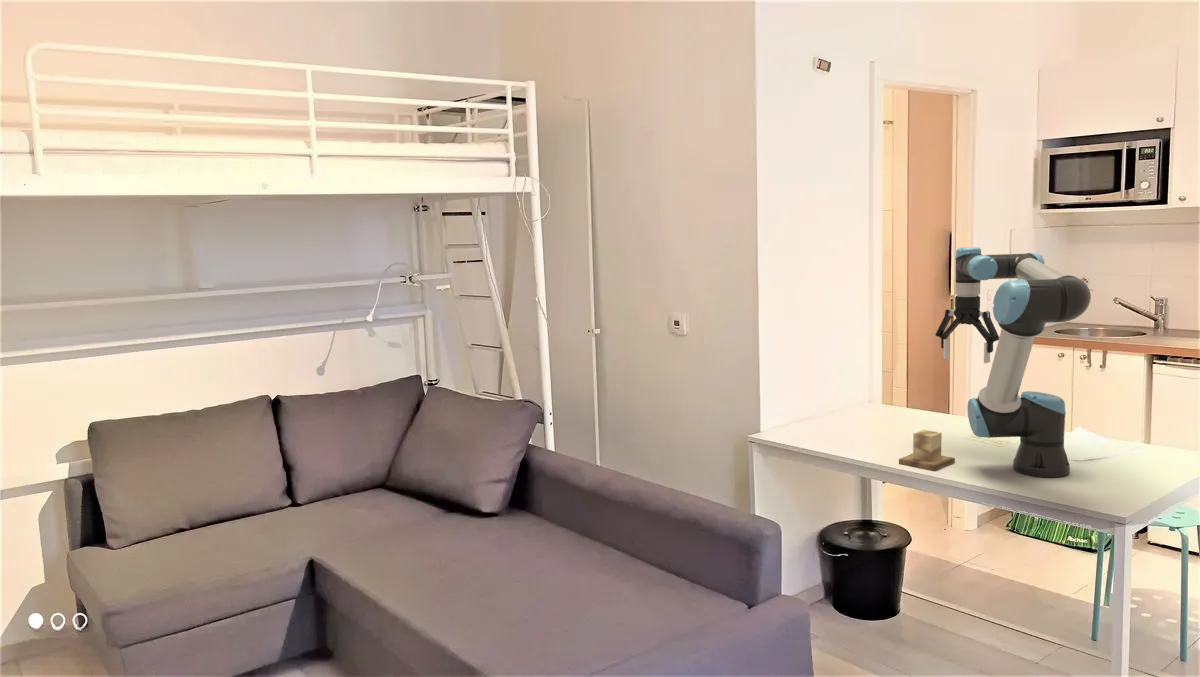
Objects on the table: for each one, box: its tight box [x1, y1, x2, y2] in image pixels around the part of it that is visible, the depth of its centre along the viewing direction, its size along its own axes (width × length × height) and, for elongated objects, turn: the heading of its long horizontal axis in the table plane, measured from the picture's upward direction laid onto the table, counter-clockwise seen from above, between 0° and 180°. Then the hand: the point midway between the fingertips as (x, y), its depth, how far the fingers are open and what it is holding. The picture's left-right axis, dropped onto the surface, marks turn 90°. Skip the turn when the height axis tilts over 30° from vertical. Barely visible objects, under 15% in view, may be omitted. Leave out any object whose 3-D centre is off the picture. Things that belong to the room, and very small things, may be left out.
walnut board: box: [898, 453, 956, 472], centre depth 273 cm, size 12×12×2 cm
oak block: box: [912, 429, 943, 462], centre depth 273 cm, size 6×6×8 cm
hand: (966, 360), depth 287 cm, fingers open, 13 cm apart
